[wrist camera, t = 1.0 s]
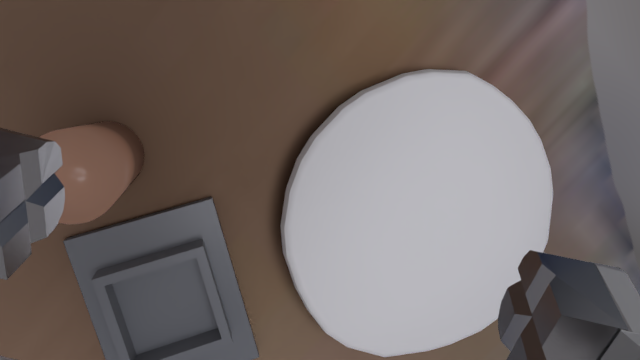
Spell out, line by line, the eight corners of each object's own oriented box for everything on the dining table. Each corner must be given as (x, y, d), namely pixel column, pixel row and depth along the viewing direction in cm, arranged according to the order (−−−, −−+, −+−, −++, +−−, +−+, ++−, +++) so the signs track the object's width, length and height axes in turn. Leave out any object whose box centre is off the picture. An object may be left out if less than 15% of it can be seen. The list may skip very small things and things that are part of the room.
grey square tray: (66, 238, 47) (55, 249, 43) (211, 196, 49) (212, 203, 45) (123, 397, 50) (117, 420, 46) (258, 351, 52) (262, 370, 49)
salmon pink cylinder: (61, 131, 46) (2, 143, 32) (132, 113, 47) (104, 117, 33) (84, 197, 47) (37, 236, 33) (153, 178, 48) (134, 208, 34)
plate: (487, 9, 48) (606, 244, 54) (448, 23, 54) (559, 233, 60) (227, 191, 42) (394, 430, 48) (216, 183, 48) (366, 396, 54)
